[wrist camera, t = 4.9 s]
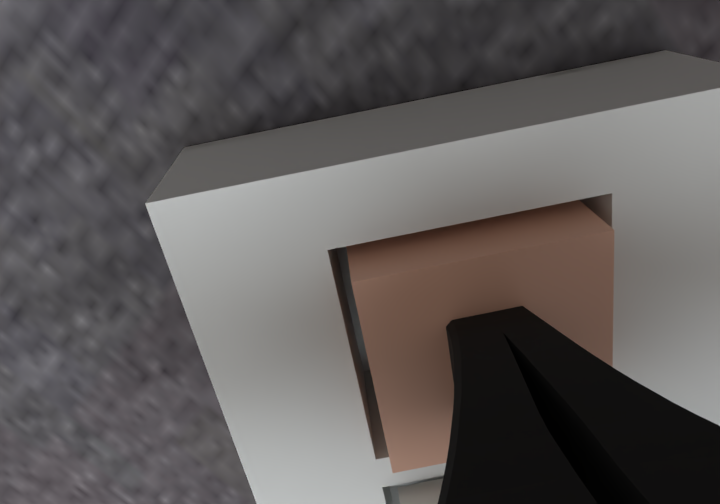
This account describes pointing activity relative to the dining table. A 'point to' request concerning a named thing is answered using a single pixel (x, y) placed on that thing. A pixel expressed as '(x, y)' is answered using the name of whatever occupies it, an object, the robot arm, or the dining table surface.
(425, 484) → the key cream
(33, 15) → the dining table surface
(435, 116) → the key strip
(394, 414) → the key terracotta
